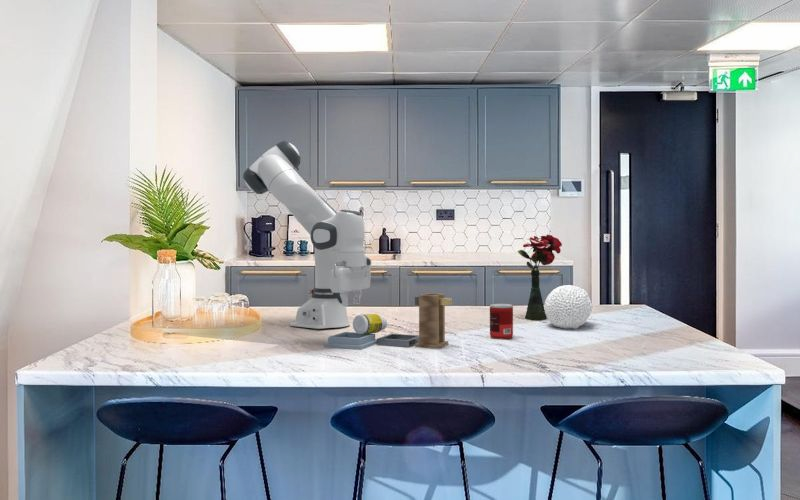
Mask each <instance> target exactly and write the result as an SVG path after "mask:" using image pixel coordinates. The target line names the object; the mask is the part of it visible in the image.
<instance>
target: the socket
mask: <svg viewBox="0 0 800 500" xmlns="http://www.w3.org/2000/svg"><path fill="white" fill-rule="evenodd" d="M376 340H377V344H376V345H377V346H386V347H387V346H388V347H399V348H400V347H401V348H411V347H413V346H415V344H416V343H418V342H419V334H418V335H417V334H415V335H414V334H403V333H401V334H399V333H389V334H386V335H383V336H380V337H378V338H376Z"/></svg>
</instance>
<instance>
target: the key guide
mask: <svg viewBox="0 0 800 500" xmlns="http://www.w3.org/2000/svg"><path fill="white" fill-rule="evenodd" d="M418 296H419V305H418V335H419V342H418V343H416V344H415V345H414V346H415V347H416V348H427V349H442V348H444V347H446V346H448V345H449V340H446V339H445V338H446V337H445V336H446V334H445V333H446V331H445V330H446V326H445V324H446V317H445V316H446V314H445V312H446V311H445V310H446V309H445V308H446V305H439V298H446V297H445V293H429V292H428V293H427V292H426V293H425V294H419V295H418Z"/></svg>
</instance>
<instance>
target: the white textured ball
mask: <svg viewBox="0 0 800 500" xmlns="http://www.w3.org/2000/svg"><path fill="white" fill-rule="evenodd" d="M545 298H546V299H545V300H544V310H545V314H546V317H547V320H548V321H549V323H551V324H552V325H553V326H555V327H557V328H560V329H564V330H567V329H573V330H577V329H578V328H579V327H581V326H583V325H584V323H586V322H587V320H588V319H589V318H590V316H591V313H592V311H593V310H592V309H593V304H592V300H591V298H590V297H589V293H588V292H587V291H586V290H585V289H583V288H582V287H579V286H576V285H571V284H568V285H566V284H564V285H560V286H558V287H556V288H554V289H553V290H552V291H550V293H549V294H548V295H547V297H545Z"/></svg>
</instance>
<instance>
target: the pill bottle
mask: <svg viewBox="0 0 800 500" xmlns="http://www.w3.org/2000/svg"><path fill="white" fill-rule="evenodd" d="M387 326H388V321H387V318H386V317H385V316H383V315H380V314H378V313H368V314H367V313H366V314H364V313H363V314H357V315H356V316H355V317H354V318H353V321H352V327H353V328H352V329H353V330H354V332H355V333H358V334H369V333H370V334H376V333H378V334H379V333H380V332H381V331H383V330H385V329H386V328H387Z"/></svg>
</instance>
